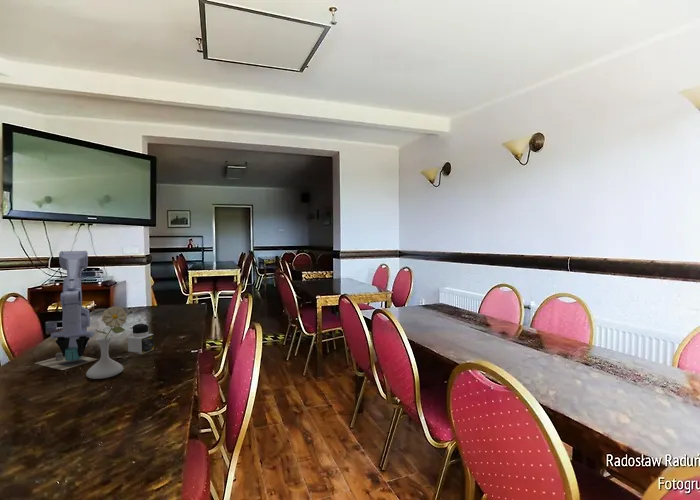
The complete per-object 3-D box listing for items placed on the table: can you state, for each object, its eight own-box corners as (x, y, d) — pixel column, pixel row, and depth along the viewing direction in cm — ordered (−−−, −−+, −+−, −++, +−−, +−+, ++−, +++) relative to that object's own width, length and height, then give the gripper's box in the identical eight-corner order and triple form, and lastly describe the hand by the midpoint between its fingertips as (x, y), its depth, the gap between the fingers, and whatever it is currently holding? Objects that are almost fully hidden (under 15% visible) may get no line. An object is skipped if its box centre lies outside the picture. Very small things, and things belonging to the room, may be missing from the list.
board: (34, 365, 147) (33, 356, 147) (70, 355, 159) (70, 347, 159) (62, 372, 140) (62, 363, 140) (98, 361, 152) (97, 353, 152)
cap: (70, 356, 150) (70, 346, 149) (84, 356, 150) (83, 346, 150) (62, 360, 145) (62, 350, 144) (76, 360, 145) (76, 350, 145)
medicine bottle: (142, 354, 160) (141, 326, 160) (127, 353, 162) (127, 325, 161) (154, 349, 167) (153, 322, 167) (140, 348, 169) (139, 322, 168)
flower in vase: (83, 384, 129) (81, 311, 128) (88, 373, 139) (86, 305, 138) (127, 377, 135) (126, 308, 134) (129, 367, 145) (128, 302, 144)
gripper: (44, 324, 142) (46, 360, 143) (86, 323, 144) (87, 358, 144) (57, 320, 149) (58, 354, 150) (96, 319, 151) (97, 352, 151)
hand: (73, 355), depth 147 cm, fingers closed on cap, 5 cm apart
